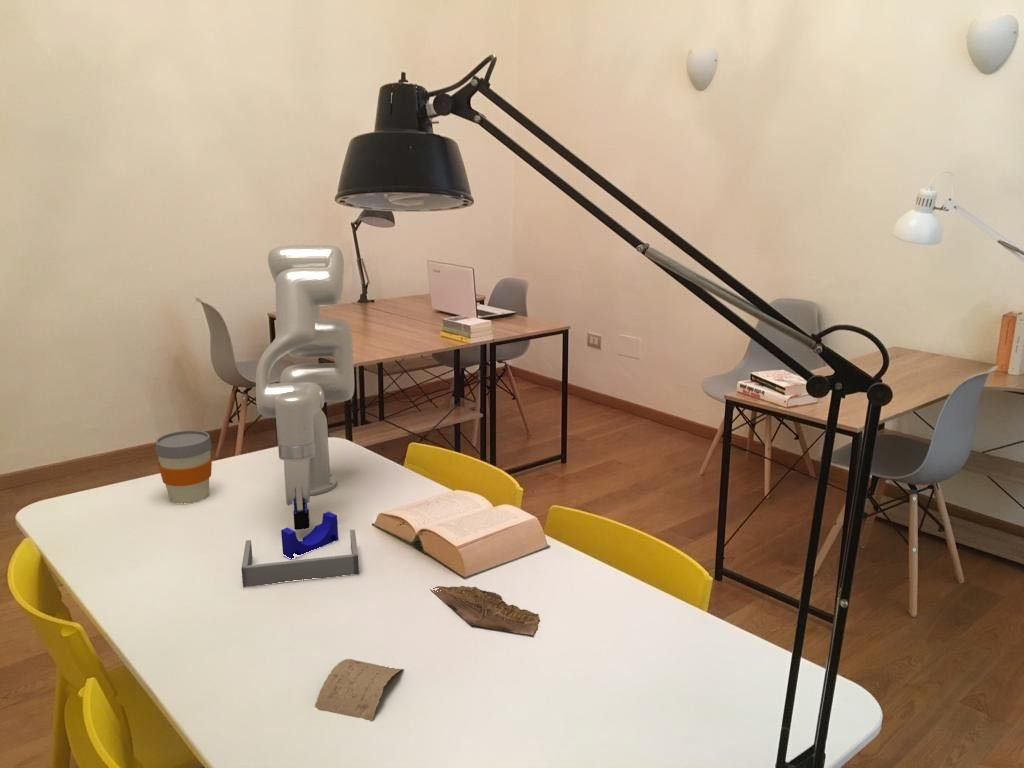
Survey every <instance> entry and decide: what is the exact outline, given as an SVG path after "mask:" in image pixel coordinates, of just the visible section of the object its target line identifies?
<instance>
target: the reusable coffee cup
mask: <svg viewBox="0 0 1024 768" xmlns="http://www.w3.org/2000/svg"><path fill="white" fill-rule="evenodd" d="M210 436H211V435H210V434H209V433H208V432H206V431H203V430H181V431H176V432H171V433H167V434H164V435H161V436H159V437H158V438H156V440H155V455H156V456H157V457H158V464H157V465H158V469H159V472H160V476H161V480H162V482H163V484H164V485H165V487H166V491H167V495H168V498H169V501H170V502H171V501H172V502H175V503H183V504H182V505H185V504H184V503H190V504H194V503H193V502H195V503H198V501H199V502H201V501H203V500H202V499H204V500H205V499H207V498H208V497H209V495H210V478H211V477H212V470H213V469H212V465H213V464H212V461H213V457H212V455H211V449H212V447H213V446H212V441H211V437H210ZM207 496H208V497H207ZM206 497H207V498H206ZM200 500H201V501H200ZM172 502H171V503H172ZM175 503H174V504H175Z"/></svg>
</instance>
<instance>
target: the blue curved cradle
mask: <svg viewBox="0 0 1024 768" xmlns="http://www.w3.org/2000/svg"><path fill="white" fill-rule="evenodd" d="M338 524H339V523H338V515H337V514H335V513H333V512H330V511H329V510H328V511H325V512H323V513H322V520H321V523H318V524H317V525H314V527H313V529H312V530H311V531H310V532H309V533H307V534H306V535H305V536H303V537H302V540H299V538H298V536H297V532H296V530H293V529H291V528H289V527H285V528H282V529H280V535H281V536H280V537H281V546H282V549H281V550H282V555H283V554H284V555H286V556H287V557H289V558H291V559H292V558H294V556H293V554H294V553H295V554H297V555H301V554H304V553H306V552H309V551H311V550H314V549H316V550H318V549H320V548H319V547H321V548H322V547H325V546H328V545H329V543H330V544H332V543H334V541H335V542H336V541H339V525H338ZM327 544H328V545H327ZM317 548H318V549H317ZM314 551H315V550H314ZM311 552H312V551H311ZM309 553H310V552H309ZM304 555H305V554H304ZM287 557H286V558H287ZM289 558H288V559H289ZM291 559H290V560H291Z"/></svg>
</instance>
